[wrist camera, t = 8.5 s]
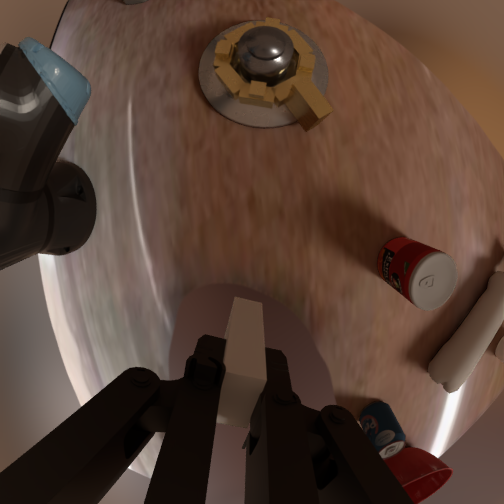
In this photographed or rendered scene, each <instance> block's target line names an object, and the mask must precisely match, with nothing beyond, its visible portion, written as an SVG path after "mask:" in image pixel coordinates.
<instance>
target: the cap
mask: <svg viewBox="0 0 504 504" xmlns="http://www.w3.org/2000/svg"><path fill="white" fill-rule="evenodd" d="M257 21H260V22H265V21H266V20H257ZM257 21H249V22H244V23H240V24H237V25H234V26H232V27H230V28H228V29H226V30H224V31H223V32H221V33H220V34H219V35H217V36H216V37H215V38H214V39H213V40H212V41H211V42H210V43H209V45H208V46H207V47H206V49H205V51H204V53H203V55H202V57H201V60H200V64H199V81H200V85H201V88H202V91H203V93H204V94H205V96H206V98H207V100H208V101H209V103H210V104H211V105H212V106H213V107H214V108H215V110H216V111H218V112H219V113H220V114H221V115H223V116H224V117H226V118H227V119H229V120H231V121H233V122H235V123H238V124H241V125H244V126H248V127H253V128H263V129H265V128H277V127H282V126H286V125H290V124H292V123H294V122H297V119H296V118H295V117H294V115H293V114H292V113H291V111H290V110H289V108H288V107H287V106H286V105H285V104H283V105H282V106H280V107H277V106H276V105H275V104H274V103H273V107H272V109H270V108H265V107H259V106H254V105H247V104H241V103H240V102H239V98H238V99H237V100H234V99H233V98H232V96H231V95H230V94H229V93H228V91H227V90H226V89H225V88H224V86H223V85H222V84H221V83H220V81H219V80H218V79H217V77H216V74H215V71H214V70H215V69H214V66H213V64H214V60H215V57H216V56H215V49H216V46H217V42H220V39H221V40H225V39H224V35H226V34H228V33H230V32H232V31H234V30H236V29H238V28H240V27H242V26H244V25H246V24H248V23H250V22H252V23H253V24H254V25H255V26H256V22H257ZM279 25H285V26H289V25H287V24H283V23H280V24H279ZM292 29H294V30H295V31H296V32H297V33H298V34H299V35H300V36H301V37H302V38H303V39H304V40H305V41H306V43H307V44H308V45H309V46H310V47H311V48H312V49H313V53H312V54H313V55H315V64H314V70H313V72H312V78H311V81H312V82H313V83H314V85H315V86H316V87H317V89H318V90H319V91H320V92H321V94H322V95H324V94H325V91H326V88H327V83H328V68H327V64H326V60H325V58H324V56H323V54H322V52H321V50H320V49H319V47H318V46H317V45H316V44H315V42H314V41H313V40H312V39H311V38H309V37H308V36H307V35H306V34H304V33H303V32H301V31H300V30H298V29H296V28H294V27H292V26H289V27H288V31H290V30H292ZM238 51H239V52H237V53H236V55H235V59H234V63H233V67H232V68H233V69H234V70H235V72H236V73H237V74H238V75H239V76H240V78H241V79H242V80H243V81H244V82H245V83H249V84H251V80H252V81H258V82H264V83H267V84H266V86H267V87H272V88H273V87H275V86H277V85H279V84H280V83H282V82H284V81H286V80H288V79H290V78H291V77H293V76H294V73H295V68H296V62H295V61H294V60H293V58H292V55H293V51H294V45H293V42H292V40H291V38H290V37H289V36H288V34H286V33H285V32H284V31H282V30H280V29H278V28H275V27H271V26H258V27H254V28H251V29H249V30H248V31H246V32H245V33H244V34H243V35H242V36H241V38H240V39H239V42H238Z"/></svg>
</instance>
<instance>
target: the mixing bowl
mask: <svg viewBox="0 0 504 504" xmlns="http://www.w3.org/2000/svg"><path fill="white" fill-rule="evenodd" d="M384 461H385V463H386V464H387V465H388V467H389V468H390V470H391V471H392V473H393V474H394V475H395V477H396V478H397V480H398V481H399V482H400V484H401V485H402V487H403V488H404V490H405V491H406V492H407V494H408V495H409V497H410V498H411V499H412V501H413V502H414V504H418V503H420V502H421V501H423V500H424V499H426V498H428V497H429V496H430V495H432V494H433V493H435V492H436V491H437V490H438V489H440V488H441V487H442V486H443V485H444V484H445V483H446V482H447V481H448V480H449V478H450V477H451V476H452V473H453V469H452V468H449V467H448V466H447V465H446V464H444V463H443V462H442V461H441V460H440V459H438V458H437V457H435V456H434V455H432V454H430V453H428V452H426V451H424V450H422V449H419V448H414V447H408V448H404V449H403V450H402V451H401V452H400V453H398V454H397V455H395V456H393V457H391V458H389V459H385V460H384Z"/></svg>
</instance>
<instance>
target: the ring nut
mask: <svg viewBox="0 0 504 504" xmlns="http://www.w3.org/2000/svg"><path fill="white" fill-rule="evenodd" d="M279 24H280V19H274V18H268V17H266V21H265V22H260V21H257V22H256V26H255V25H254V24H253V23H252V22H250V23H248V24H246V25H244V26H242V27H240V28H238V29H236V30H234V31H232V32H230V33H228V34H226V35H224V39H225V40H221V39H220V42H217V46H216V49H215V56H216V57H215V60H214V64H213V66H214V69H215V70H214V71H215V74H216V77H217V79H218V80H219V81H220V83H221V84H222V85H223V86H224V88H225V89H226V90H227V91H228V93H229V94H230V95H231V96H232V98H233V99H234V100H237V99H238V98H239V102H240V103H241V104H247V105H254V106H259V107H265V108H270V109H272V107H273V103H274V104H275V105H276V106H277V107H280V106H282V105H283V104H285V105H286V106H287V107H288V108H289V110H290V111H291V113H292V114H293V115H294V117H295V118H296V119H297V121H298V122H299V123H300V125H301V126H302V128H303V129H304V130H305V132H307V131H309V130H310V129H312V128H314V127H315V126H317V125H318V124H320V123H321V122H322V121H323V120H324V119H325V118H326V117H327V116H328V115H329V114H330V113H332V112H333V111H334V110H333V109H332V107H331V106H330V105H329V103H328V102H327V100H326V99H325V98H324V96H323V95H322V94H321V92H320V91H319V90H318V89H317V87H316V86H315V85H314V83H313V82H312V81H311V78H312V72H313V70H314V64H315V55H313V54H312V53H313V49H312V48H311V47H310V46H309V45H308V44H307V43H306V41H305V40H304V39H303V38H302V37H301V36H300V35H299V34H298V33H297V32H296V31H295V30H294V29H292V30H290V31H288V27H289V26H285V25H279ZM258 26H271V27H275V28H278V29H280V30H282V31H284V32H285V33H286V34H288V36H289V37H290V38H291V40H292V42H293V45H294V51H293V55H292V58H293V60H294V61H295V62H296V68H295V73H294V76H293V77H291V78H290V79H288V80H286V81H284V82H282V83H280V84H279V85H277V86H275V87H273V88H272V87H267V86H266V84H267V83H264V82H258V81H252V80H251V84H249V83H245V82H244V81H243V80H242V79H241V78H240V76H239V75H238V74H237V73H236V72H235V70H234V69H233V68H232V67H233V63H234V59H235V55H236V53H237V52H239V51H238V42H239V39H240V38H241V36H242V35H243V34H244V33H245V32H246V31H248V30H249V29H251V28H254V27H258Z"/></svg>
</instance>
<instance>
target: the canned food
mask: <svg viewBox="0 0 504 504" xmlns="http://www.w3.org/2000/svg"><path fill="white" fill-rule="evenodd" d="M377 265H378V270H379V273H380V275H381V277H382V279H383V280H384V281H385V282H387V283H388V284H389V285H390V286H392V287H393V288H394V289H395V290H397V291H398V292H399V293H400V294H401V295H403V296H404V297H405V298H406V299H408V300H409V301H410V302H411V303H412V304H414V305H415V306H416V307H418V308H420V309H422V310H427V311H429V310H434V309H437V308H438V307H440V306H442V305H443V304H444V303H445V302H446V301H447V300H448V299H449V297H450V296H451V295H452V293H453V291H454V289H455V286H456V282H457V267H456V263H455V262H454V260H453V259H452V257H451V256H449V255H448V254H446V253H444V252H442V251H440V250H437V249H435V248H432V247H430V246H427V245H425V244H422V243H420V242H417V241H415V240H412V239H409V238H406V237H400V238H395V239H392V240H390V241H389V242H387V243H386V244H385V245H384V246H383V248H382V249H381V251H380V253H379V256H378V261H377Z"/></svg>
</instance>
